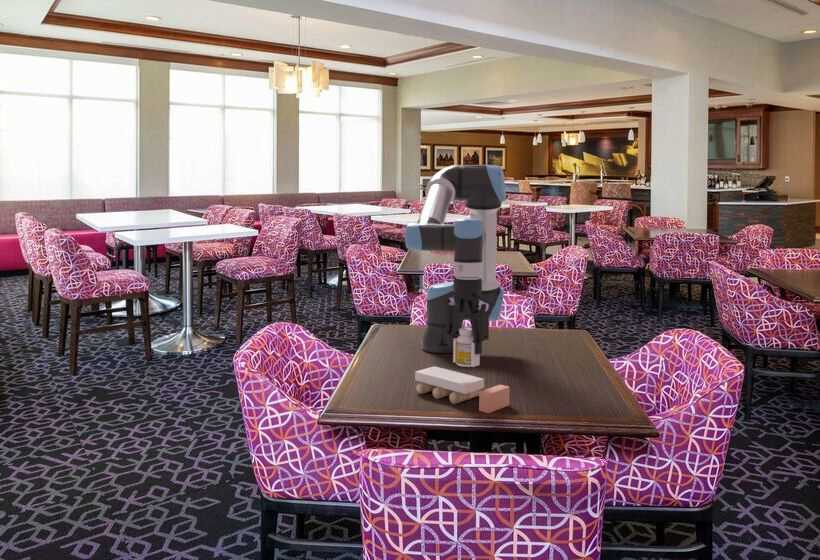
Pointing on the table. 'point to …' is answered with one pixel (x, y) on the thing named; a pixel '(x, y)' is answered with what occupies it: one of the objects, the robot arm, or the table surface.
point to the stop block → (494, 398)
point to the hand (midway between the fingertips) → (466, 363)
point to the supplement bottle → (464, 347)
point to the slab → (449, 379)
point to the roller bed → (446, 393)
